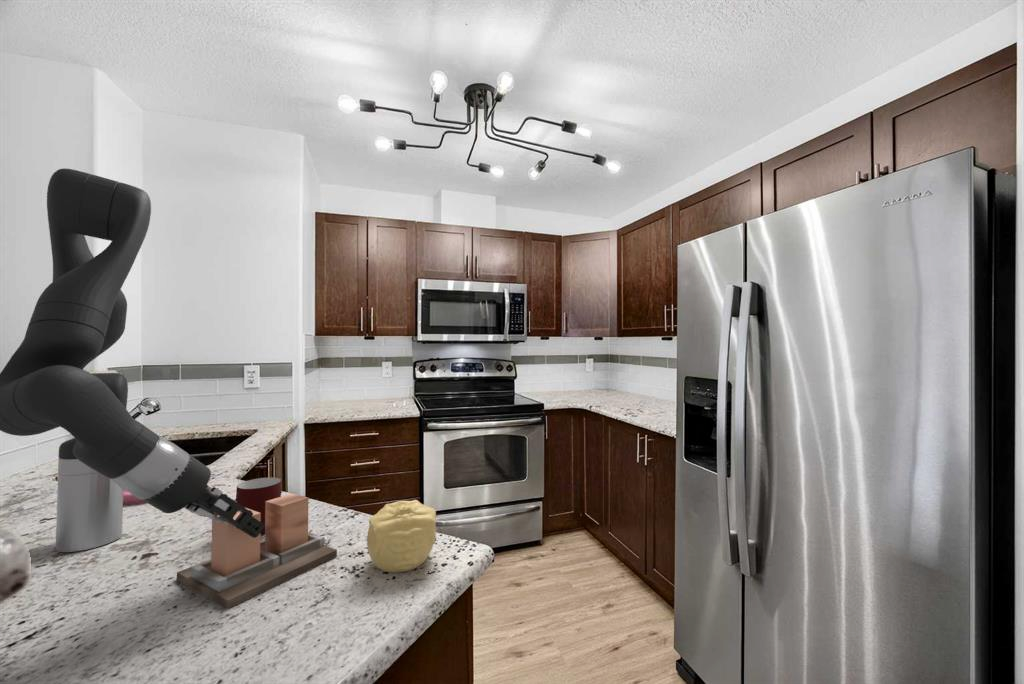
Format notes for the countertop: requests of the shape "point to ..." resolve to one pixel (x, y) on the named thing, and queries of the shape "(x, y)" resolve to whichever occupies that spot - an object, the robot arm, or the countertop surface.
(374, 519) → the sculpture
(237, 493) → the mug
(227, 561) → the pillar
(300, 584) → the countertop surface
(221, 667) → the countertop surface
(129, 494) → the saucer
